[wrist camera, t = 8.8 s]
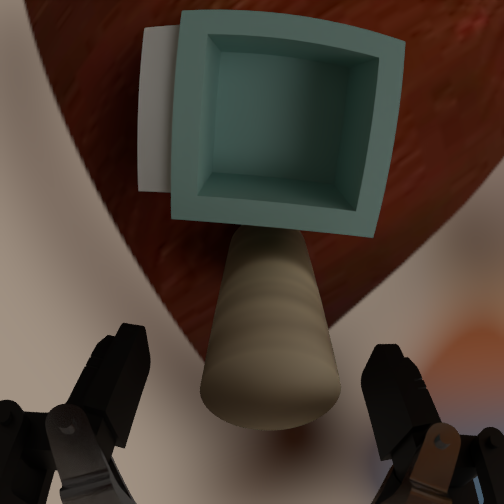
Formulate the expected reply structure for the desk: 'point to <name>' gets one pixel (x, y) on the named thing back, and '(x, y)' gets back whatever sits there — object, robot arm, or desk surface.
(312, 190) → the grey-green open box
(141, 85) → the grey flat slab
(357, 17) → the desk surface
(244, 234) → the dowel
